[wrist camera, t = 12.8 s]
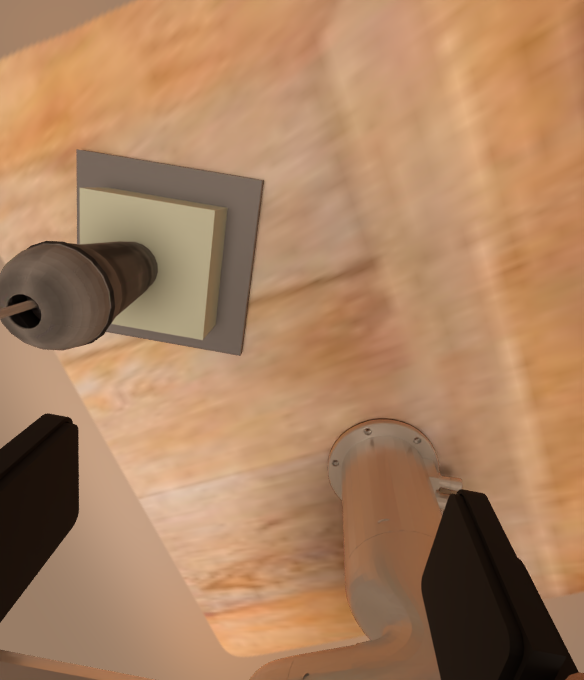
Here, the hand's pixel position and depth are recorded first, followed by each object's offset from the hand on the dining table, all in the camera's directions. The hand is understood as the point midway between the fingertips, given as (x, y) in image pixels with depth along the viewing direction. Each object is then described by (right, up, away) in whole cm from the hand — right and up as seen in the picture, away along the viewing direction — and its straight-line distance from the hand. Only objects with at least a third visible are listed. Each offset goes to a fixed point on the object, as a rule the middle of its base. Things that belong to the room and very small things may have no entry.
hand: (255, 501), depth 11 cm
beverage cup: (-14, +11, +30) cm, 34 cm away
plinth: (-12, +13, +35) cm, 39 cm away
